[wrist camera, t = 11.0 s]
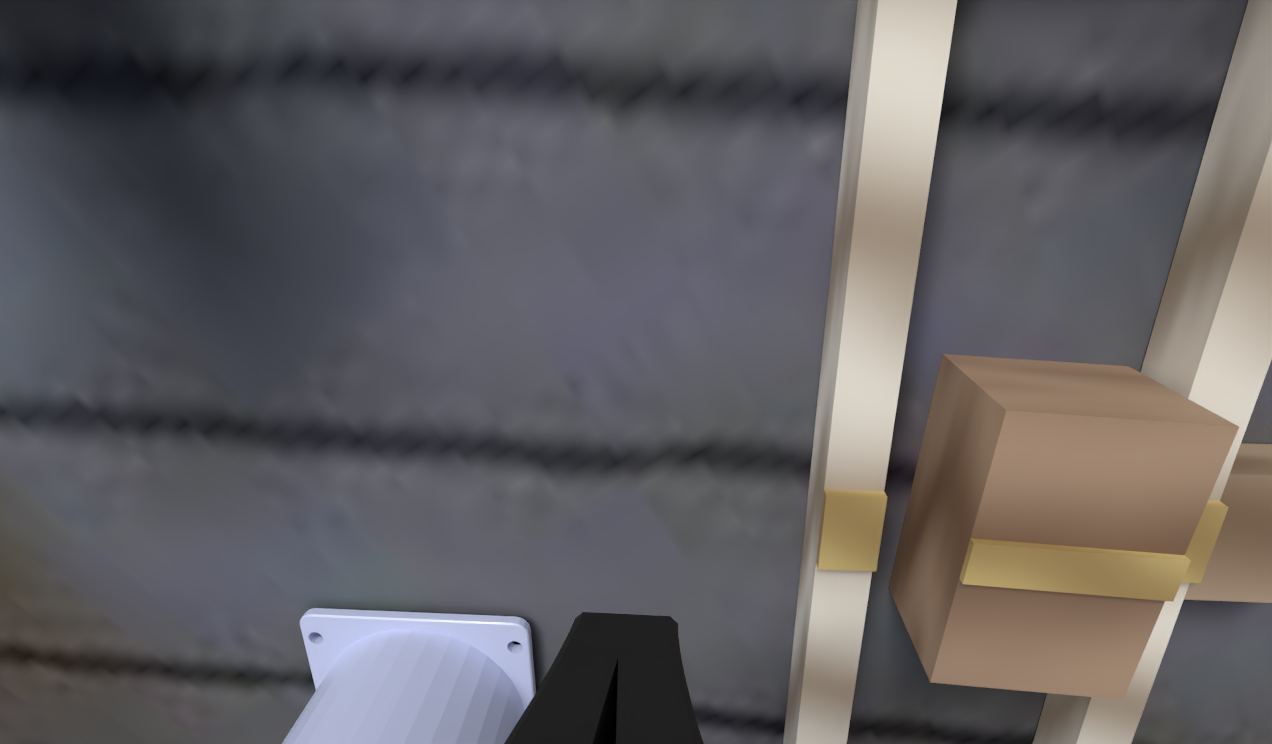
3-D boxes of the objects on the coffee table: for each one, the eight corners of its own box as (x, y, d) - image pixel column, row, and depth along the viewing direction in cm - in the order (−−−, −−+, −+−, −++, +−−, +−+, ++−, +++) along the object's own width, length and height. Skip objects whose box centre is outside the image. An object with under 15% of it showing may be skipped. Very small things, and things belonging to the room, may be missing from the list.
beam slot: (1130, 849, 24) (1170, 913, 22) (774, 827, 25) (782, 886, 23) (1552, -209, 13) (1706, -268, 11) (876, -182, 14) (908, -233, 12)
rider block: (1044, 596, 21) (1127, 706, 17) (886, 583, 21) (932, 688, 17) (1123, 363, 18) (1247, 430, 14) (940, 351, 18) (1009, 414, 14)
